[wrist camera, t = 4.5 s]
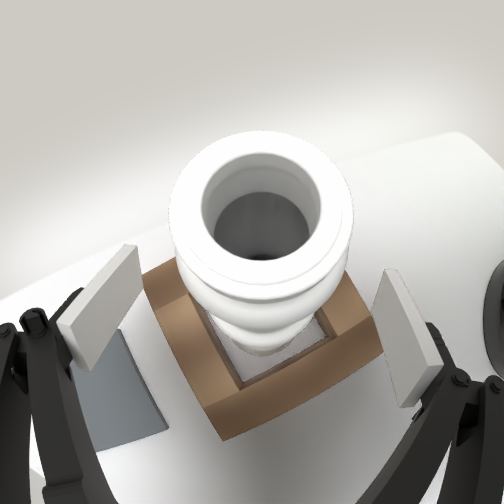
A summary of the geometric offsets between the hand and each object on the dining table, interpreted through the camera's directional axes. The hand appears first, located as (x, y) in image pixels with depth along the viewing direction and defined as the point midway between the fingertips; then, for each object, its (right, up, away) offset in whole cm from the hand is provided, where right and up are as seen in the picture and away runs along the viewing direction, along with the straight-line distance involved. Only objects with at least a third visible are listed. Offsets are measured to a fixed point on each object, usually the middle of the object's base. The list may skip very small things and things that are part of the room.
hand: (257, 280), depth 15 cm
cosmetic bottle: (+1, -4, +10) cm, 10 cm away
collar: (+1, -4, +9) cm, 10 cm away
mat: (-14, -12, +8) cm, 20 cm away
